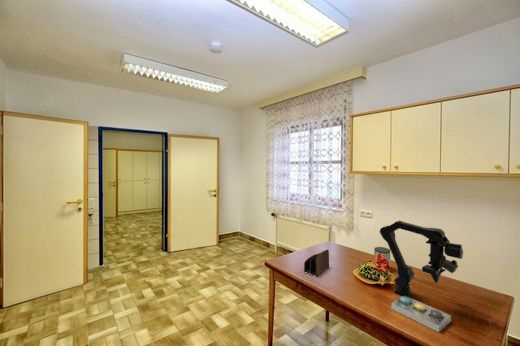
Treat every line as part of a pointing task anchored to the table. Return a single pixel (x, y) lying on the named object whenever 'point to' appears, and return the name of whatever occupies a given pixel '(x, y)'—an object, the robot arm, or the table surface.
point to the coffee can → (383, 252)
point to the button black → (436, 315)
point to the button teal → (405, 301)
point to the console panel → (422, 314)
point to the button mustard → (420, 307)
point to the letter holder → (317, 263)
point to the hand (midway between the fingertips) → (436, 282)
